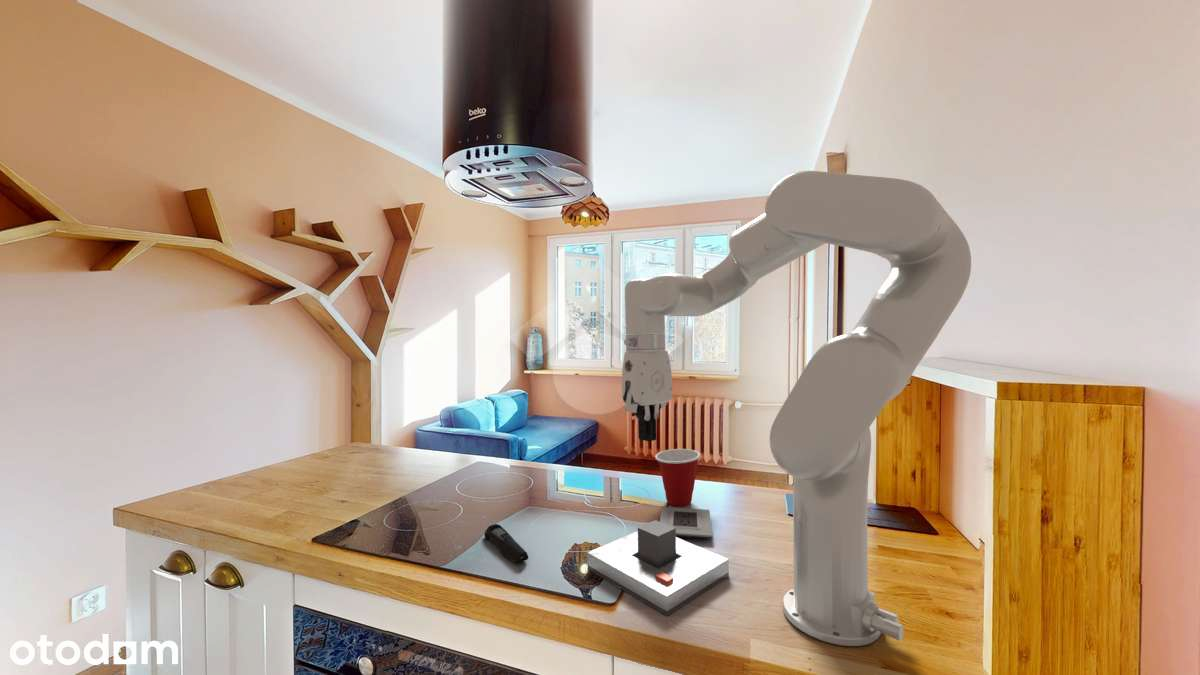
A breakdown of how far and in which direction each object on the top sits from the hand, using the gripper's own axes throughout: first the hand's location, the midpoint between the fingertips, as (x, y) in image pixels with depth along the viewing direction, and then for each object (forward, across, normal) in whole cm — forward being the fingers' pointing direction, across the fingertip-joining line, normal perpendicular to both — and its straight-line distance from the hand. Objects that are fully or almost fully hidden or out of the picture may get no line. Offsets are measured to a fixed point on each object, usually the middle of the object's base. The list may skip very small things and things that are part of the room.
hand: (647, 439), depth 87 cm
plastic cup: (+21, +22, +11) cm, 32 cm away
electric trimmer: (+21, -20, +19) cm, 35 cm away
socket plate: (+21, -6, -7) cm, 23 cm away
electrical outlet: (+22, +12, +1) cm, 25 cm away
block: (+20, -6, -7) cm, 22 cm away
